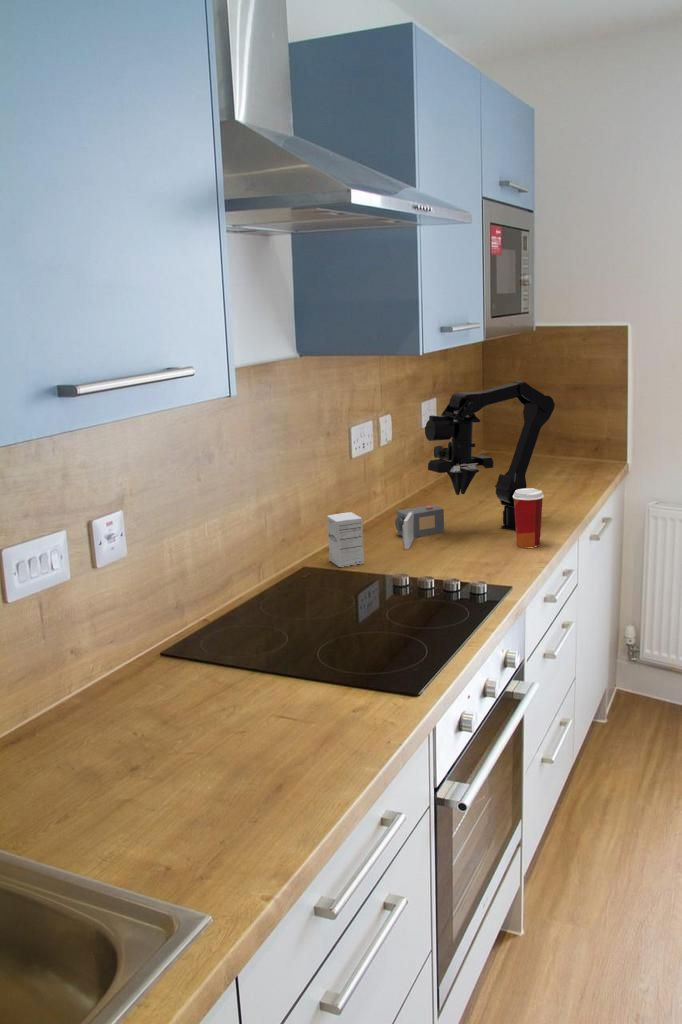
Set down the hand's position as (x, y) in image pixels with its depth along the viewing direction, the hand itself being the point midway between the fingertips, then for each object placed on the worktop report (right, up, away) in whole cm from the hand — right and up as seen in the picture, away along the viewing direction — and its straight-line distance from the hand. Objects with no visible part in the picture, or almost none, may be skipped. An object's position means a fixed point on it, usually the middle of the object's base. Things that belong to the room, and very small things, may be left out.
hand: (460, 494), depth 248 cm
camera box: (-11, -11, +9) cm, 18 cm away
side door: (-14, -14, -1) cm, 20 cm away
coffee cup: (+17, -14, -8) cm, 24 cm away
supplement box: (-32, -18, -14) cm, 39 cm away
